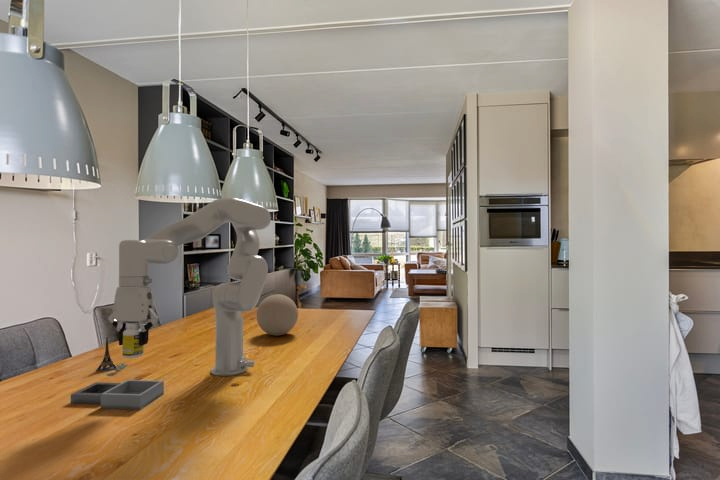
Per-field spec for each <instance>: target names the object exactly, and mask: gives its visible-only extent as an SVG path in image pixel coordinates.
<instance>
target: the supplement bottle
mask: <svg viewBox="0 0 720 480" xmlns="http://www.w3.org/2000/svg"><path fill="white" fill-rule="evenodd" d="M139 332H141V328H140V325H139V322H127V323H126V330H125V331H124V332H123V345H122V357H123V358H127V359H133V358H139V357H142V356H143V355H144V354H145V353H144V350H145V348H144V347H145V345H143V346H140V345H139Z"/></svg>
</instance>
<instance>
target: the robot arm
mask: <svg viewBox="0 0 720 480" xmlns="http://www.w3.org/2000/svg"><path fill="white" fill-rule="evenodd" d="M271 221H272V216H271V213H270V211H269V210H268V209H267V208H266V207H265V206H262V205H259V204H257V203H253V202H250V201H248V200H243V199H240V198H238V197H226V198H217V199H214V200H212V201H211V202H209V203H207V204H206V205H204V206H203V207H201V208H199V209H198V210H196V211H194V212H193V213H191V214H190V215H188V216H186V217H185V218H182V219H180V220H178V221H176V222H174V223H171V224H169V225H167V226H165V227H162V228H159V230H156V231H155V232H154V233H152V234H150V235H149V236H147V237H146V238H144V239H123V240H121V241H120V242H119V245H118V287H116V290H115V295H114V301H113V311H112V312H111V314H110V315H108V317H107V320H108V321H109V322H110V323H111V324H112V326H113V327H114V328H115V329H116V332H118V333H117V335H118V345H119V346H123V332H124V331H125V330H126V329H127V328H126V323H127V322H139V325H140V328H141V332H139V345H140V346H143V345H144V346H145V345H147V344H148V342H149V336H150V335H149V331H150V330H151V329H152V327H154V325H155V324H156V323H157V322H159V320H160V317H159V316H158V314H157V313H156V312H155V300H154V294H153V292H154V291H153V289H152V286H151V285H150V286H149V284H151V283H153V280H152V279H153V278H150V276H149V264H156V265H167V264H171V263H172V262H174V261H175V260H176V259H177V258H178V256H179V248H178V246H181V245H185V244H189V243H192V242H196V241H199V240H202V239H204V238H206V237H207V236H208V235H210V234H211V233H213V232H214V231H215V230H217V229H218V228H220V227H221V226H223V225H224V224H227V223H228V224H230V223H231V225H232V227H233V229H234V231H235V233H236V244H235V247H234V249H233V251H232V254H231V257H230V260H229V262H228V265H227V269H226V273H227V275H228V276H229V278H230V279H232V280H235V281H240V283H239V282H230V281H229V282H228V281H227V282H223V283H220V284H218V285H217V286H216V287H215V289H214V290H213V294H212V303H213V309H214V316H215V318H214V319H215V365H213V366H212V367H211V369H210V373H211V375H212V374H213V375H214V376H221V377H224V376H225V377H229V376H235V375H240V374H242V373H245V372H246V371H248V368H255V361H254V360H253V359H247V357H246V355H244V316H243V312H244V313H245V312H250V311H252V310H254V309H255V307H256V306H257V304H258V302H259V300H260V297H261V295H262V292H263V289H264V286H265V283H266V280H267V279H268V278H267V277H268V274H269V268H268V266H269V265H268V263H267V261H266V259H265V258H264V257H263V256H260V255H258V253H259V250H260V245H261V241H260V237H259V234H258V232H257V231H259V230H265V229H266V228H268V227H269V226H270V224H271Z"/></svg>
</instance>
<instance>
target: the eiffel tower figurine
mask: <svg viewBox="0 0 720 480" xmlns="http://www.w3.org/2000/svg"><path fill="white" fill-rule="evenodd" d="M113 363H114V362H113V360H112V358H111V354H110V349H109V337H108V336H106V337H105V350H104V356H103V359H102V360H101V362H100V364H99V366H98V367H97V368H96V371H98V372H100V373H101V374H103V373H107V372H110V373H108V374H107V375H106V376H107V377H109V376H114V375H116V374H117V373H119V372H121V371H122V370H123V369H125V368H126V367H128V366H129V364H127V365H125V364H126V363H120V364H121V365H117V366H115V365H114V364H113ZM112 371H115V372H112ZM111 372H112V373H111Z"/></svg>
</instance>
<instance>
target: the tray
mask: <svg viewBox="0 0 720 480" xmlns="http://www.w3.org/2000/svg"><path fill="white" fill-rule="evenodd" d="M120 383H121V384H119V385H117V386H115V387H113V388H111V389H109V390H108V391H106V392H101V393H102V394H101V404H100V409H104V410H105V409H107V410H108V409H109V410H132V411H133V410H135V411H141V410H142V409H143V410H144V408H145V407H147V406H148V405H150V404H151V403H153V402H154V401H156V400H158V399H159V398H160V397H162V396H163V395H164V394H165V390H164V389H165V388H164V387H165V386H164V384H165V381H164V380H147V379H145V380H144V379H141V380H140V379H127V380H125V381H123V382H120Z"/></svg>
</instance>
